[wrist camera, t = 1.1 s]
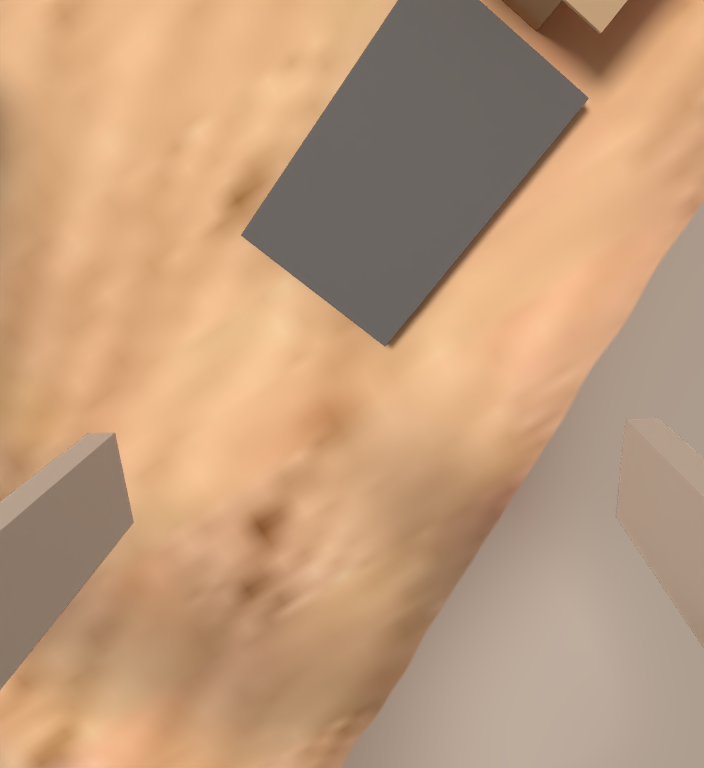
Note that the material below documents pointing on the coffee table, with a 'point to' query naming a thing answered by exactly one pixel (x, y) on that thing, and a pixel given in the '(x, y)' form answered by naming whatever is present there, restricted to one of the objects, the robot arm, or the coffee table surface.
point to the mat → (412, 159)
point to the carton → (591, 3)
